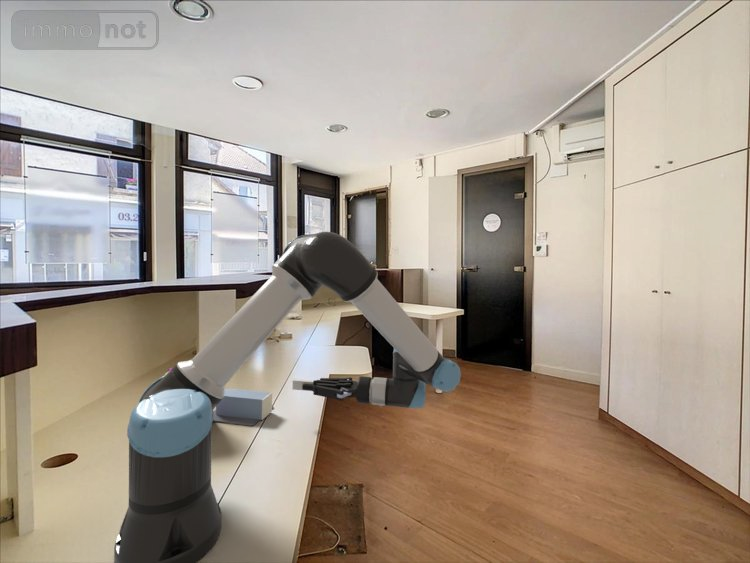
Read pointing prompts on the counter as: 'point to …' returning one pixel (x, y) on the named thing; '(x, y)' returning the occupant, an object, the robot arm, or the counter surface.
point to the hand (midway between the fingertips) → (293, 384)
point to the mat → (234, 420)
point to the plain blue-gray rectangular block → (245, 404)
